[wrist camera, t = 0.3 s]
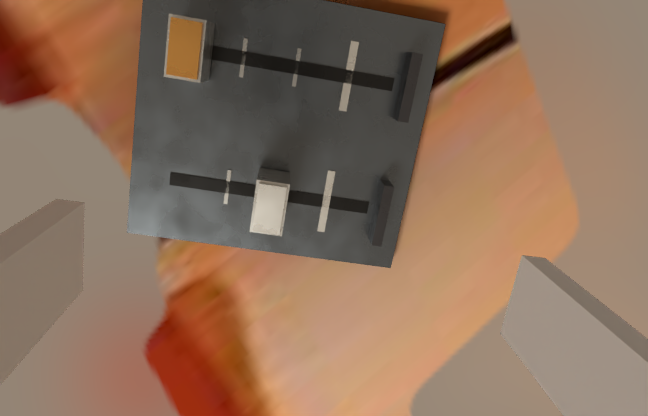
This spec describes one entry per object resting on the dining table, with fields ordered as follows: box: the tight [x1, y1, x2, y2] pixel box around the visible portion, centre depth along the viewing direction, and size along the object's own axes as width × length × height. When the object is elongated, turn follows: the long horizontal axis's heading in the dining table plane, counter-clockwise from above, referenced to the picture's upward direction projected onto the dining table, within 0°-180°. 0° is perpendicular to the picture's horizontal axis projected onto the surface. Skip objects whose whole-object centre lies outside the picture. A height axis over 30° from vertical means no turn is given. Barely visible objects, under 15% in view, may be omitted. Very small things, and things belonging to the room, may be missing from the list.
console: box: [127, 0, 445, 268], centre depth 39 cm, size 20×22×3 cm
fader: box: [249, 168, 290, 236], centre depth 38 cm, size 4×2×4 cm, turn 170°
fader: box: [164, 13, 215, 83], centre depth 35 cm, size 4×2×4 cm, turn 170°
